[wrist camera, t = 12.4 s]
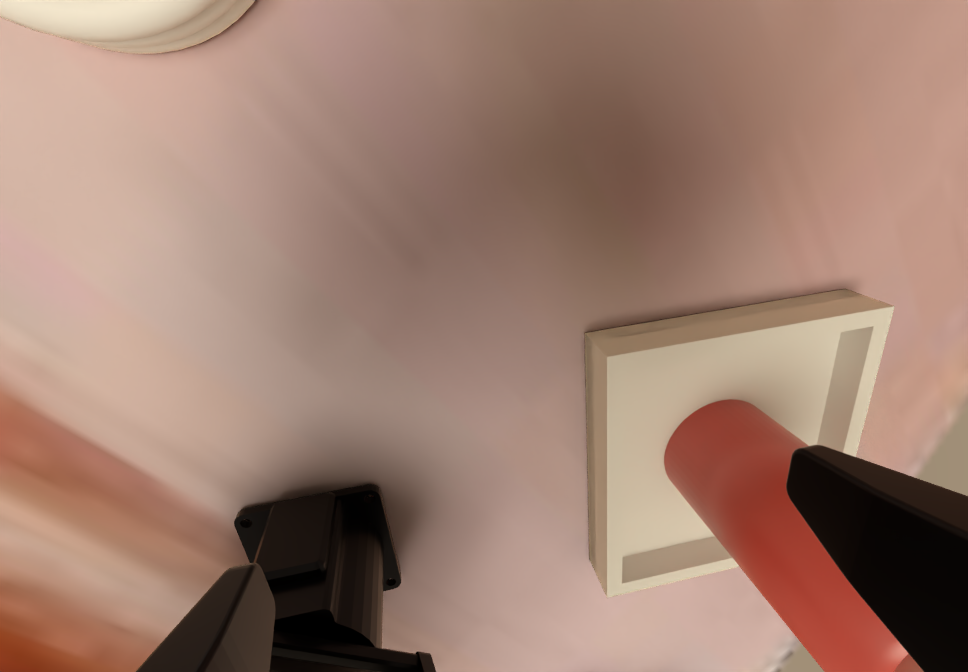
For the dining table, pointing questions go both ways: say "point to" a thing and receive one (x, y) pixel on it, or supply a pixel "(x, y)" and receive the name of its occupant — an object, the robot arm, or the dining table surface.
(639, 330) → the tray
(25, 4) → the cream round disc
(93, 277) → the dining table surface
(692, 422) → the squeeze bottle
